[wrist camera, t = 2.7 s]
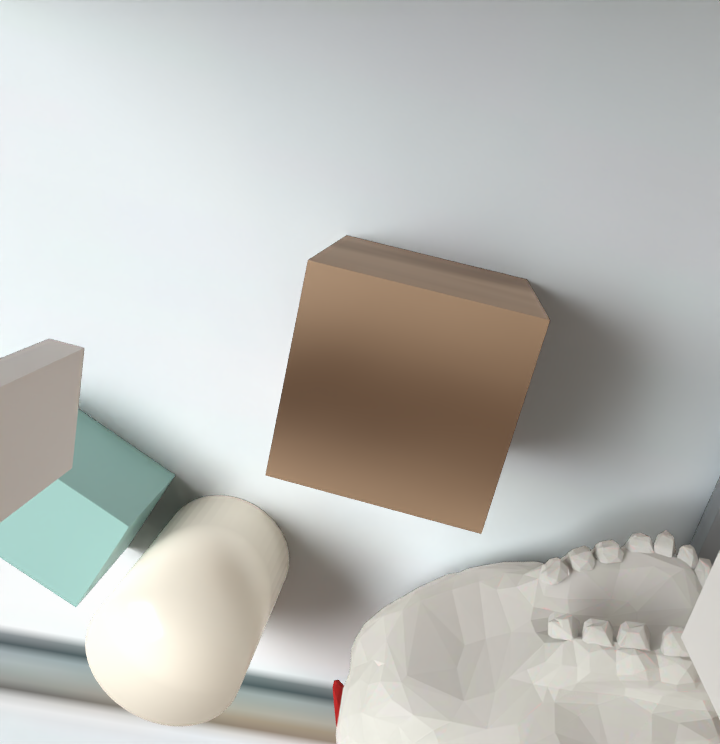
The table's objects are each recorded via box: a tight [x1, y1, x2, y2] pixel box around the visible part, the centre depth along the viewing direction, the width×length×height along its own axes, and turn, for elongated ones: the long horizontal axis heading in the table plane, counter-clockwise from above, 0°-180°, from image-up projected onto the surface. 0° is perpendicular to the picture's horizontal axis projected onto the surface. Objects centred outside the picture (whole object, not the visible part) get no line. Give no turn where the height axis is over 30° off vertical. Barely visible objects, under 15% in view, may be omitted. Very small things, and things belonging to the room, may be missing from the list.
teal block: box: [0, 409, 175, 607], centre depth 24 cm, size 4×6×4 cm, turn 56°
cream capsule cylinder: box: [85, 495, 289, 726], centre depth 24 cm, size 5×5×6 cm
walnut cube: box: [266, 235, 550, 534], centre depth 20 cm, size 6×6×6 cm
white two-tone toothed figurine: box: [333, 530, 720, 744], centre depth 22 cm, size 9×11×15 cm
